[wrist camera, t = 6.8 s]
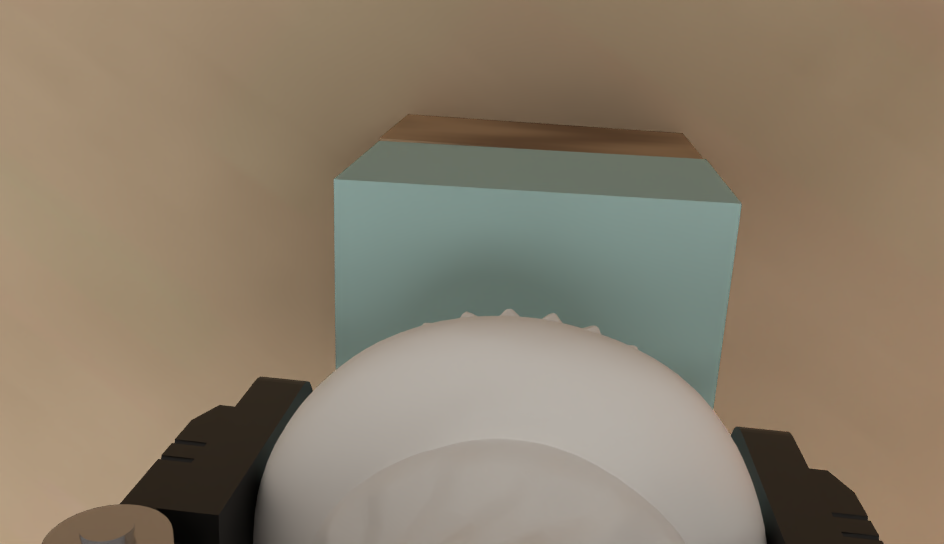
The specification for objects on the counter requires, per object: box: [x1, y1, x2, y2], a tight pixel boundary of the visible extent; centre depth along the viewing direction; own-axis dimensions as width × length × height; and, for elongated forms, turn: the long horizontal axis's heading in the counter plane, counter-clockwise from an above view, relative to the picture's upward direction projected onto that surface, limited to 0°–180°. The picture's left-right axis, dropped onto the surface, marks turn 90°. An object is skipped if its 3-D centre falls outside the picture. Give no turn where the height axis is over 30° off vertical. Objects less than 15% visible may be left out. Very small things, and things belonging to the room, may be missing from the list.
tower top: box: [334, 141, 742, 409], centre depth 18 cm, size 7×7×4 cm
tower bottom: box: [379, 114, 703, 159], centre depth 22 cm, size 7×7×4 cm
